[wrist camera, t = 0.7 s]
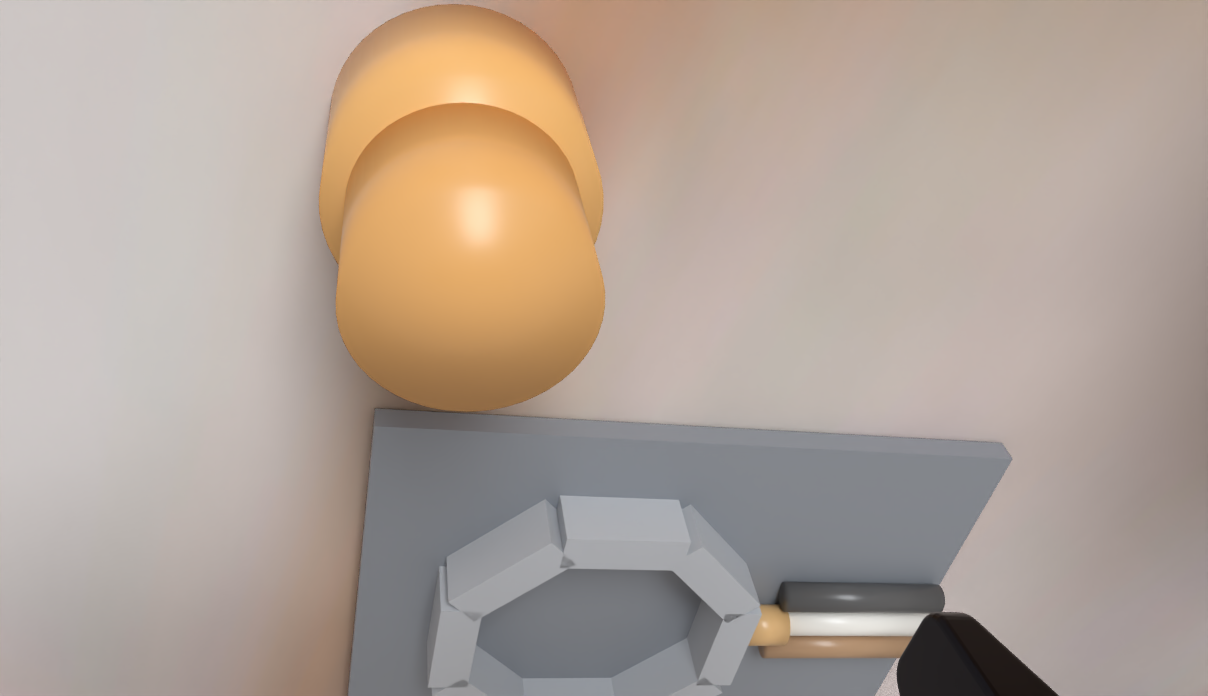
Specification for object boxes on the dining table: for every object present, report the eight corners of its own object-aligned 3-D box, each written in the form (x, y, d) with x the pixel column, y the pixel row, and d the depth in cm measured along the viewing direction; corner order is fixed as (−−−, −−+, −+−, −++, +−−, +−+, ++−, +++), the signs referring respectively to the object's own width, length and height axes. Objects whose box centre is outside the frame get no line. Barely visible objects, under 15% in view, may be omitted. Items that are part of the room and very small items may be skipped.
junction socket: (1001, 443, 27) (1038, 498, 26) (848, 714, 34) (869, 771, 32) (375, 408, 23) (372, 471, 22) (344, 722, 30) (341, 787, 29)
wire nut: (599, 24, 19) (665, 184, 14) (555, 242, 21) (598, 438, 17) (336, -15, 18) (311, 144, 13) (325, 219, 20) (300, 422, 16)
